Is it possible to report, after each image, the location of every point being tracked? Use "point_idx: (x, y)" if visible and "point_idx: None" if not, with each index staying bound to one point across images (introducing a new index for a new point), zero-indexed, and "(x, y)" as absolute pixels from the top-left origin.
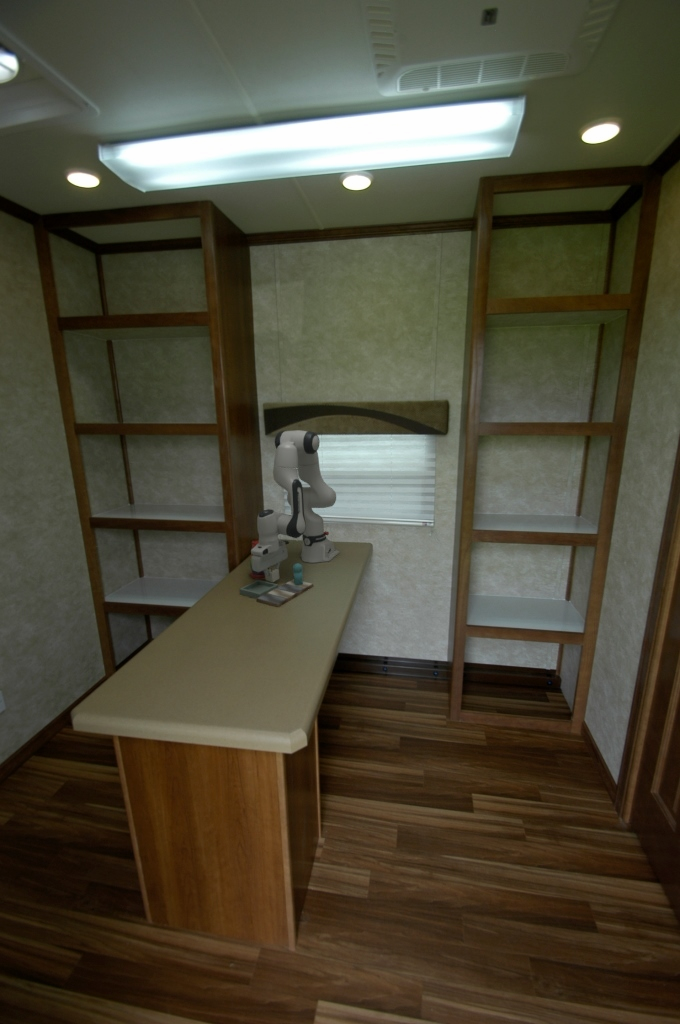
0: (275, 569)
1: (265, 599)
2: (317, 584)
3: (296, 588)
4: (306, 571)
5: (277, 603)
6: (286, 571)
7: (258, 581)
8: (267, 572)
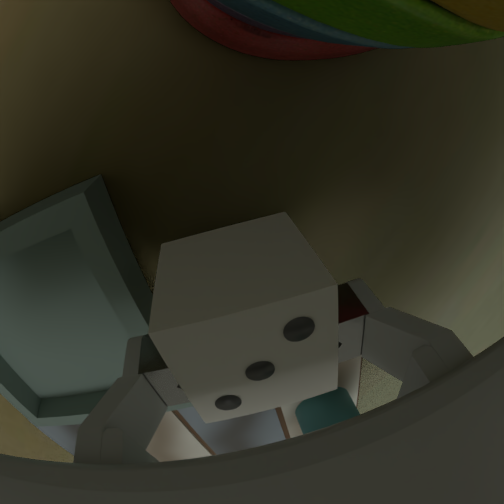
0: (316, 374)
1: (65, 444)
2: (377, 398)
3: (262, 440)
4: (498, 226)
5: None
6: (470, 109)
7: (71, 225)
8: (150, 424)
